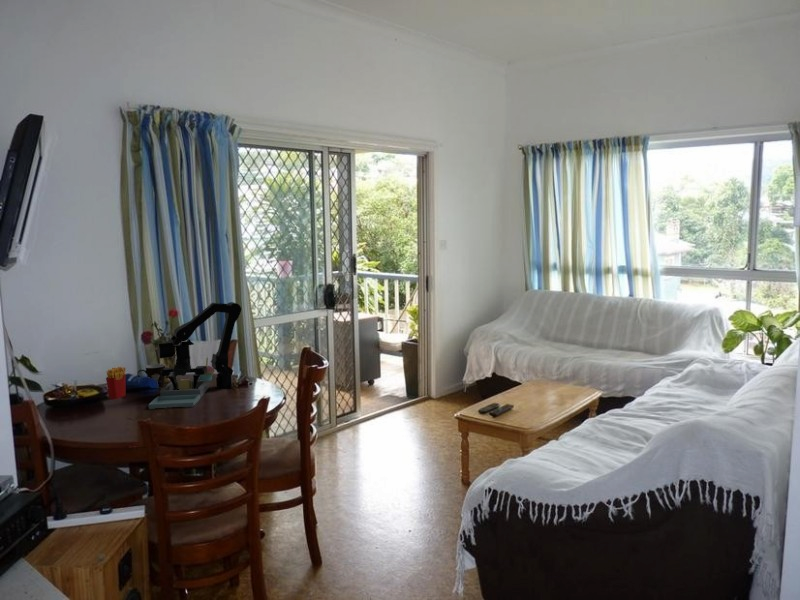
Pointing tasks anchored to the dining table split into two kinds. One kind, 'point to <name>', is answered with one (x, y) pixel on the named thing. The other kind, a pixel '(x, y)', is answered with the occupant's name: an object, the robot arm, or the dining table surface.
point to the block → (185, 384)
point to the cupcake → (209, 372)
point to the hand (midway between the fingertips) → (185, 389)
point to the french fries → (116, 382)
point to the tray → (174, 401)
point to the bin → (201, 386)
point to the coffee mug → (155, 373)
